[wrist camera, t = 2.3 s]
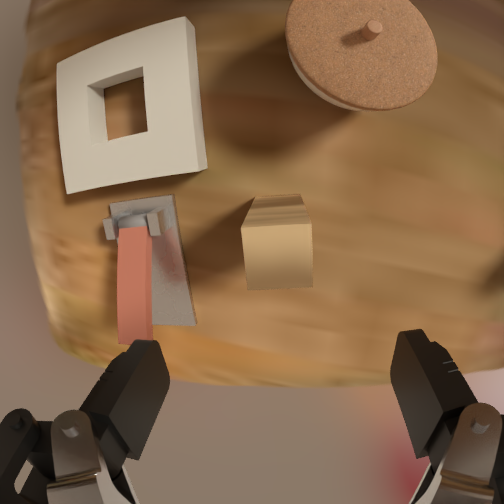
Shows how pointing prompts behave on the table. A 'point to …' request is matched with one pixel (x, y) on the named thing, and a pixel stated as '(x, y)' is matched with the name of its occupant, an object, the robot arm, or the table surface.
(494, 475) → the robot arm
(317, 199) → the table surface
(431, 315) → the table surface
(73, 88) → the socket block
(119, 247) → the latch lever
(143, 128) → the table surface
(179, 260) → the lever bracket
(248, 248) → the peg
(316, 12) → the lidded jar
